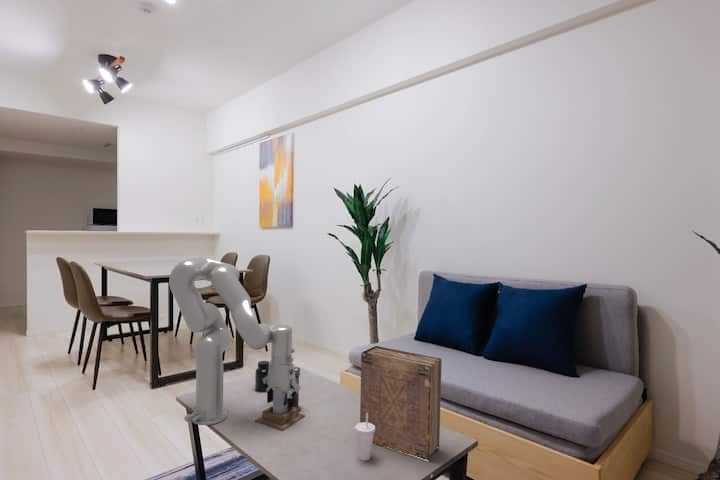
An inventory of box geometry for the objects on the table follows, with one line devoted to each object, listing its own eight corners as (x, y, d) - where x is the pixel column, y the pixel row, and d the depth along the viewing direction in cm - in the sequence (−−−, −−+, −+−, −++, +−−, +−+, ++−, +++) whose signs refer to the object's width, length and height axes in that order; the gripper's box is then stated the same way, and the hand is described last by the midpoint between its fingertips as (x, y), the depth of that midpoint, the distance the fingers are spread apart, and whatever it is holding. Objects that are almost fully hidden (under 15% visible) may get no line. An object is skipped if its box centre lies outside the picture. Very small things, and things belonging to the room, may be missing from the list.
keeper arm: (301, 374, 160) (301, 366, 160) (296, 376, 158) (297, 368, 158) (272, 367, 168) (272, 359, 168) (267, 369, 165) (267, 361, 165)
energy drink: (289, 415, 154) (290, 384, 154) (282, 421, 149) (283, 389, 149) (277, 413, 156) (278, 382, 155) (269, 419, 151) (270, 387, 150)
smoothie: (368, 465, 124) (369, 419, 123) (350, 458, 127) (351, 414, 127) (378, 455, 129) (379, 411, 129) (361, 449, 133) (362, 406, 132)
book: (439, 449, 134) (442, 358, 133) (428, 462, 126) (431, 366, 125) (373, 428, 147) (374, 345, 146) (359, 438, 139) (361, 351, 139)
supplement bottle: (269, 385, 185) (269, 359, 184) (272, 391, 178) (272, 364, 178) (254, 387, 182) (254, 360, 182) (256, 393, 176) (256, 365, 175)
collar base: (282, 431, 144) (283, 392, 143) (254, 421, 150) (255, 384, 150) (312, 412, 159) (313, 377, 159) (286, 404, 165) (286, 370, 165)
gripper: (306, 360, 151) (305, 406, 151) (270, 352, 159) (269, 396, 160) (293, 366, 144) (292, 414, 145) (256, 357, 153) (256, 402, 153)
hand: (280, 404), depth 152 cm, fingers open, 9 cm apart
